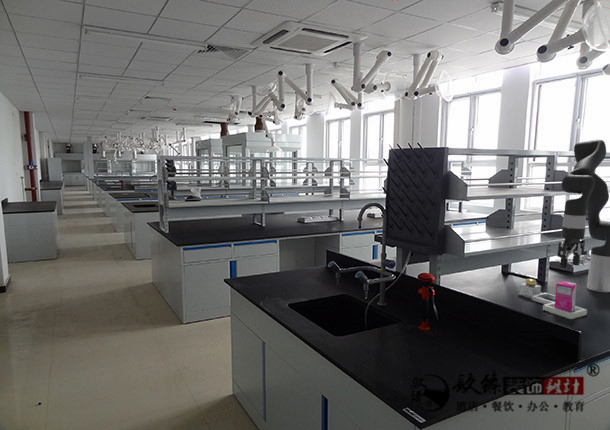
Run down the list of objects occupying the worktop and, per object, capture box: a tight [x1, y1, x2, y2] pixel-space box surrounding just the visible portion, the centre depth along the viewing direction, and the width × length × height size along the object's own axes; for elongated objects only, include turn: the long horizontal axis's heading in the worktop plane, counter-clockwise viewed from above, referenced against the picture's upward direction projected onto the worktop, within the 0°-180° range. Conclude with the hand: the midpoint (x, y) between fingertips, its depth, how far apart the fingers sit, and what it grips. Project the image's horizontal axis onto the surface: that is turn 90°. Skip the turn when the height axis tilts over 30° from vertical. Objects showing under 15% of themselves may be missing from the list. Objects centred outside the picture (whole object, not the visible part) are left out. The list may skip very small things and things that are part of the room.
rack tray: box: [542, 301, 588, 320], centre depth 162 cm, size 11×11×2 cm
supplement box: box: [554, 280, 577, 313], centre depth 161 cm, size 6×6×12 cm
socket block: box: [518, 282, 556, 305], centre depth 177 cm, size 10×17×5 cm, turn 28°
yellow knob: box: [525, 278, 537, 286], centre depth 181 cm, size 4×4×6 cm
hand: (569, 266), depth 159 cm, fingers open, 8 cm apart
